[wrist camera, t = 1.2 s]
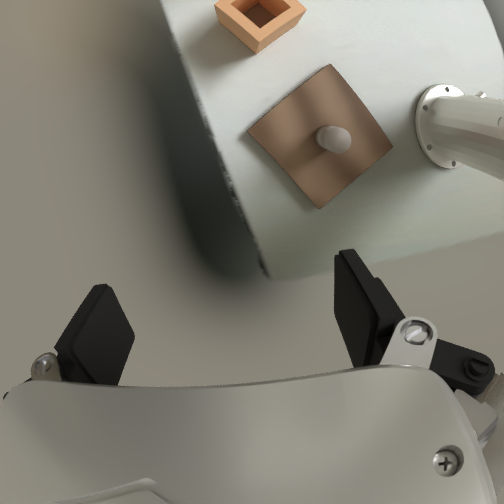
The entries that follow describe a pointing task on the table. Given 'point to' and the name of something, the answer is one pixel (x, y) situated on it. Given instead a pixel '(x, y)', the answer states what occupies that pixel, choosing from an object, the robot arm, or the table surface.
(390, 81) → the table surface
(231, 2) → the orange hollow cube
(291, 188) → the table surface
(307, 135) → the post board
